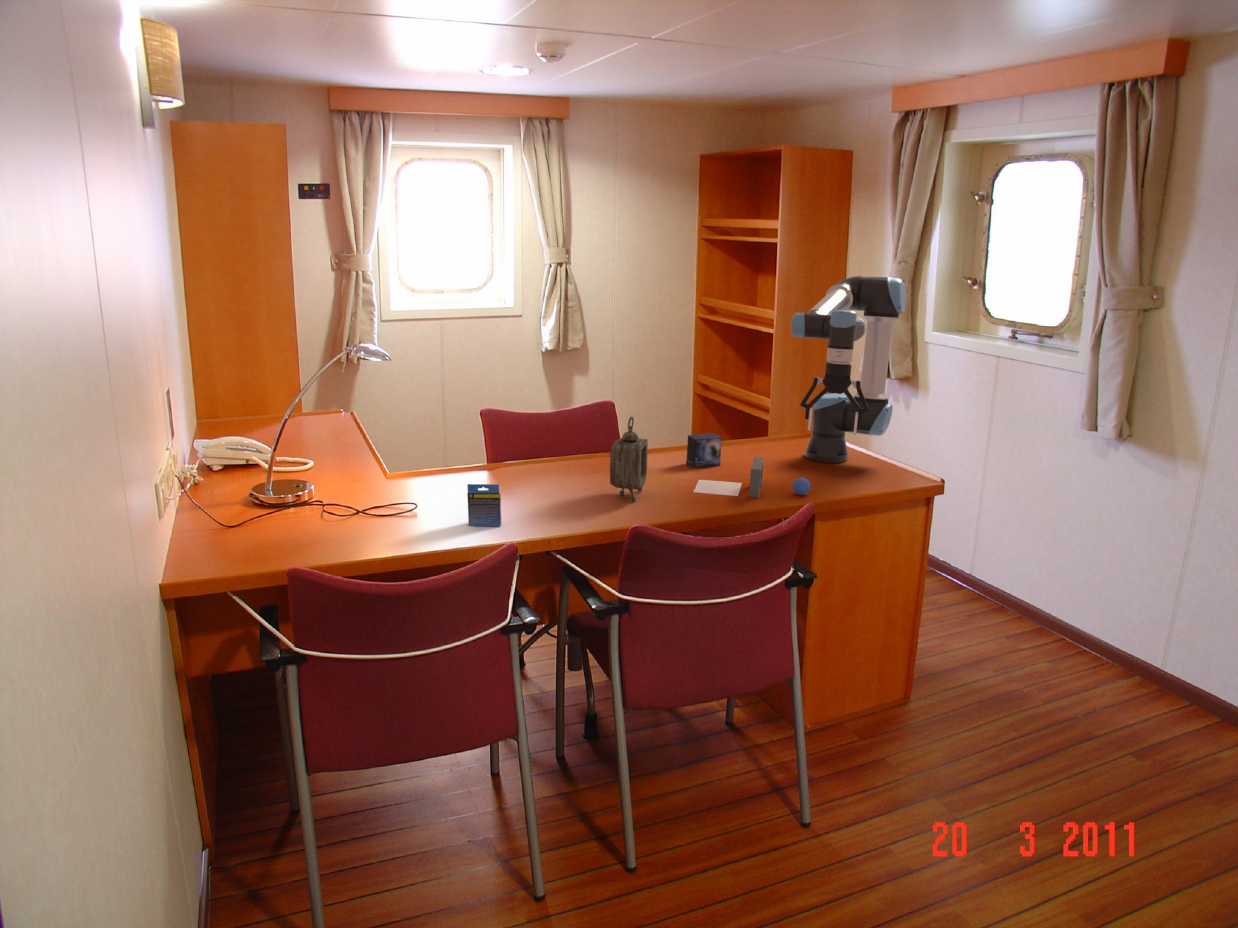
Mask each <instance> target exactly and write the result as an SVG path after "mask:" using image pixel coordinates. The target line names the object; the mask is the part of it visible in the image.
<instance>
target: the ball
mask: <svg viewBox="0 0 1238 928" xmlns="http://www.w3.org/2000/svg"><path fill="white" fill-rule="evenodd" d="M792 490H793V492H794V493H795V494H796V495H798V496H805V495H806V494H808V493H809V492H810V490H811V483H810V481H809V480H808V479H807V478H805V477H798V478H796V479H795V480H794V481H793V483H792Z"/></svg>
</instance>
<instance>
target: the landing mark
mask: <svg viewBox="0 0 1238 928" xmlns="http://www.w3.org/2000/svg"><path fill="white" fill-rule="evenodd" d="M742 485H743V482H734V481H733V482H732V481H721V480H708V479H698V481H697V483H696V485H695V488H694V490H693V491H692V492H693V493H694V494H705V495H719V496H729V497H739V495H740V491H741V487H742Z"/></svg>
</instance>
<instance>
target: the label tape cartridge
mask: <svg viewBox="0 0 1238 928" xmlns="http://www.w3.org/2000/svg"><path fill="white" fill-rule="evenodd" d="M483 488H484V489H485V490H484V489H483ZM480 489H482V490H480ZM486 489H487V490H486ZM466 494H467V511H468V512H467V515H468V522H467V523H468V527H469V526H475V527H498V526H500V527H501V525H502V498H501V496H502V495H501V493H500V485H499V484H495V483H493V484H488V483H485V484H483V483H482V484H479V483H477V484H475V483H469V484H468V483H467V493H466Z"/></svg>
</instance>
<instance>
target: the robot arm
mask: <svg viewBox="0 0 1238 928" xmlns="http://www.w3.org/2000/svg"><path fill="white" fill-rule="evenodd" d="M906 295H907V294H906V286H905V283H904V281H903V280H902V279H900V278H895V277H890V276H889V277H884V276H864V275H856V276H851V277H848V278H845V279H842V280H840V281H838V282H836V283H834V284H833V285H831V287H830V288H828V290H827V291H826V292H825V296H824V297H823V298H822V299H820V300H819V301H818V303H816V304H815V305H814V306H813V307H812V308H811V309H810V310H809V311H807V312H795V313H794V314H793V316H792V318H791V322H790V332H791V334H792V336H793V337H797V338H798V337H799V338H803V339H804V338H806V339H807V338H808V339H820V340H827V350H826V351H827V352H826V361H827V362H826V363H825V368H824V369H825V370H824V371H825V372H824V377H823V378H821V377H818V376H814V377H813V382H812V385H811V386H810V388H809V389H808V391H807V392H806V394H805V395H804V398H803V399H802V400H801V402H800V403H799V404H800V407H803V408H804V409H805V415H804V417H805V420H808V422H807V423H808V425H807V431H809V432H810V431H811V437H810V439H809V441H808V444H807V446H806V449H805V454H804V455H805V457H806V458H807V459H808V460H810V461H813V462H814V461H815V462H819V463H830V464H831V463H832V464H837V463H844V462H846V461H848V459H849V451H848V447H847V446H848V445H847V443H846V442H847V441H846V437H845V436H846V433H851V434H852V435H853V436H857V434H860V435H868V436H870V437H871V436H875V437H876V436H878V437H880V436H883V435H885V433H886V431H887V430H888V427H889V425H890V422H891V419H892V416H893V408H894V407H893V404H892V403H889V397H888V395H887V394H886V387H887V379H888V378H887V376H888V369H889V363H890V362H889V360H890V353H891V344H892V336H893V328H894V324H895V322H896V321H898V320H899V316H900V315H901V314H903V313H904V312H905V309H906V305H907V303H906V301H907V299H906V298H907V296H906ZM856 311H861V312H862V311H863V317H864V319H865V320H866V322H867V323H866V322H865V321H864V319H863V318H861V317H859V316H857V312H856ZM864 335H865V339H864V340H865V341H864V347H863V356H862V357H863V358H862V365H861V372H860V374H861V375H860V379H857V380H851V375H852V374H851V373H852V364H851V363H852V362H853V358H854V357H853V356H854V355H853V354H854V346H855V345H854V344H855V342H856V341H859V340H860V339H861V338H863V336H864ZM822 383H823V386H824V388H823V389H822V390H821V391H819V393H818V394H817V395H816V396H814V398H813V399H811V400H810V401H809V399H810V397H811V396H812V394H813V393H814V391H815V390H816V387H817V385H820V384H822ZM851 385H852V386H853V388H856V391H857V392H856V393H855V394H854V396H853V395H852V394H851V392H850V390H849V388H850V386H851ZM808 401H809V402H808ZM807 402H808V403H807ZM812 407H813V408H812ZM811 428H812V429H811Z"/></svg>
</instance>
